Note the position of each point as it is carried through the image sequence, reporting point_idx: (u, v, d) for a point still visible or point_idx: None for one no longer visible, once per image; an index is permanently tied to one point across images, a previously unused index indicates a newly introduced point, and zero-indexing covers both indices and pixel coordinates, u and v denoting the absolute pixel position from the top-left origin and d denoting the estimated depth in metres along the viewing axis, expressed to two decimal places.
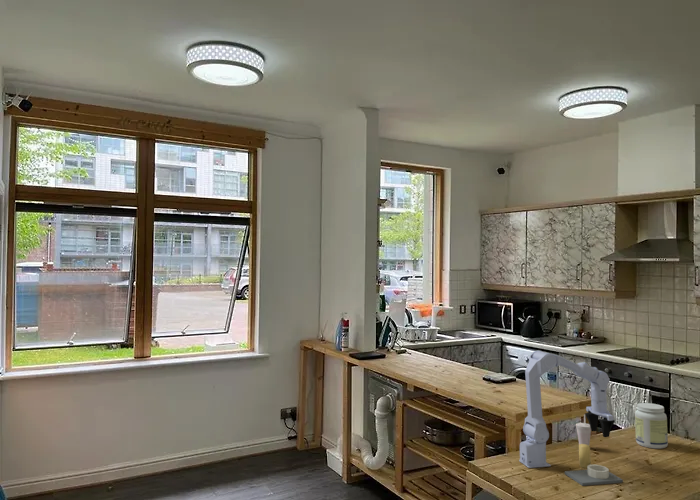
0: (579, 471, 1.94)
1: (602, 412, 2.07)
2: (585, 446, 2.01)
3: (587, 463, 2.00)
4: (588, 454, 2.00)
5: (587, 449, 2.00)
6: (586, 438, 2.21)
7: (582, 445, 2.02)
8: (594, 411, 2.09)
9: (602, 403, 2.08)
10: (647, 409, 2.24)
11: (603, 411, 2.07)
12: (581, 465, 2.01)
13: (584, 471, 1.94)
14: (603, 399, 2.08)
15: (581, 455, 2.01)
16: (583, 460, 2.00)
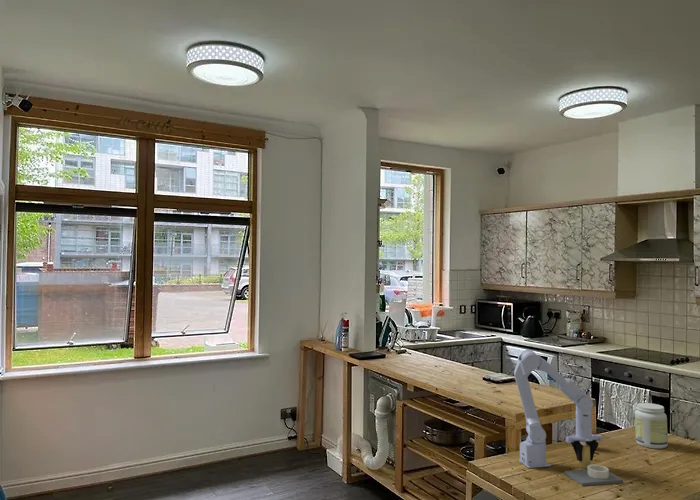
0: (579, 471, 1.94)
1: (576, 435, 2.02)
2: (585, 446, 2.01)
3: (587, 463, 2.00)
4: (588, 454, 2.00)
5: (587, 449, 2.00)
6: None
7: None
8: None
9: (576, 426, 2.02)
10: (647, 409, 2.24)
11: (577, 435, 2.02)
12: (581, 465, 2.01)
13: (584, 471, 1.94)
14: (585, 424, 2.00)
15: None
16: (583, 460, 2.00)
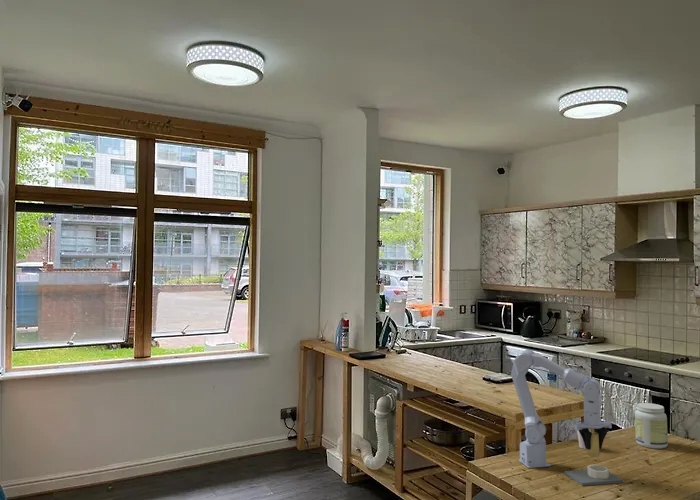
0: (579, 471, 1.94)
1: (584, 423, 1.95)
2: (593, 433, 1.94)
3: (596, 451, 1.93)
4: (597, 442, 1.93)
5: (596, 436, 1.93)
6: None
7: None
8: None
9: (584, 413, 1.95)
10: (647, 409, 2.24)
11: (585, 422, 1.95)
12: (589, 453, 1.94)
13: (584, 471, 1.94)
14: (591, 411, 1.93)
15: None
16: (591, 448, 1.93)
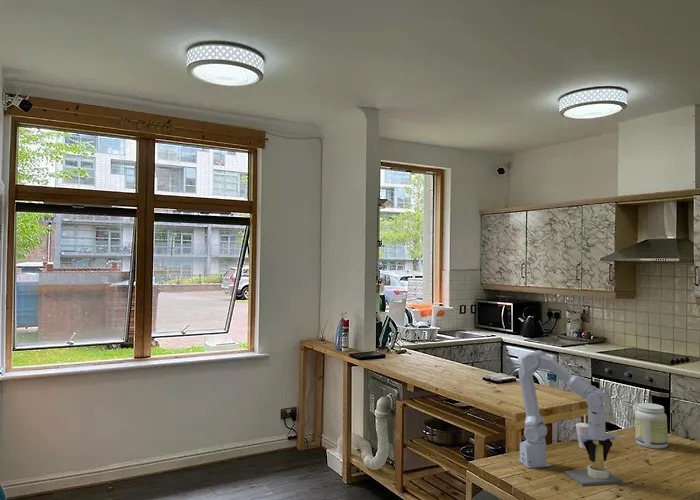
0: (579, 471, 1.94)
1: (589, 434, 1.91)
2: (598, 445, 1.91)
3: (600, 463, 1.89)
4: (601, 454, 1.89)
5: (600, 448, 1.89)
6: None
7: None
8: None
9: (589, 425, 1.91)
10: (647, 409, 2.24)
11: (589, 434, 1.91)
12: (594, 466, 1.90)
13: (584, 471, 1.94)
14: (594, 422, 1.89)
15: None
16: (595, 461, 1.89)
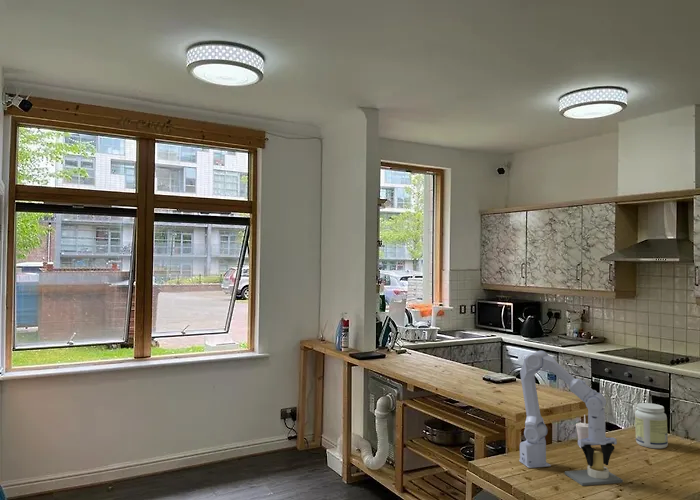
0: (579, 471, 1.94)
1: (589, 439, 1.91)
2: (597, 452, 1.91)
3: None
4: (601, 461, 1.89)
5: (600, 456, 1.89)
6: None
7: (594, 452, 1.92)
8: None
9: (589, 429, 1.91)
10: (647, 409, 2.24)
11: (589, 438, 1.91)
12: None
13: (584, 471, 1.94)
14: (594, 426, 1.89)
15: (593, 463, 1.90)
16: (595, 468, 1.89)
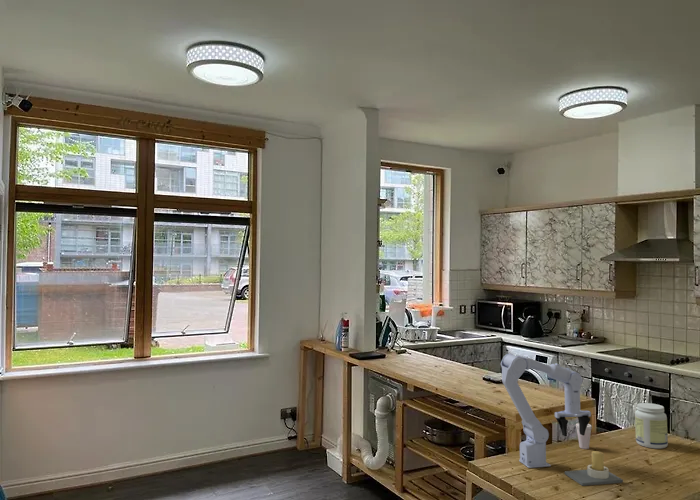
0: (579, 471, 1.94)
1: (565, 411, 2.08)
2: (598, 453, 1.90)
3: None
4: (601, 462, 1.89)
5: (600, 456, 1.89)
6: (586, 438, 2.21)
7: (595, 452, 1.91)
8: None
9: (565, 402, 2.08)
10: (647, 409, 2.24)
11: (566, 410, 2.08)
12: None
13: (584, 471, 1.94)
14: (576, 400, 2.05)
15: (593, 463, 1.90)
16: (595, 469, 1.89)
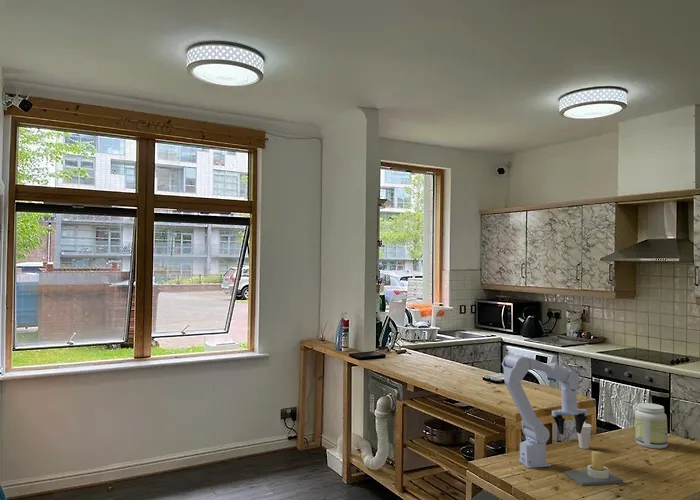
0: (579, 471, 1.94)
1: (562, 409, 2.10)
2: (598, 453, 1.90)
3: None
4: (601, 462, 1.89)
5: (600, 456, 1.89)
6: (586, 438, 2.21)
7: (595, 452, 1.91)
8: None
9: (562, 401, 2.10)
10: (647, 409, 2.24)
11: (562, 409, 2.10)
12: None
13: (584, 471, 1.94)
14: (573, 398, 2.08)
15: (593, 463, 1.90)
16: (596, 469, 1.89)
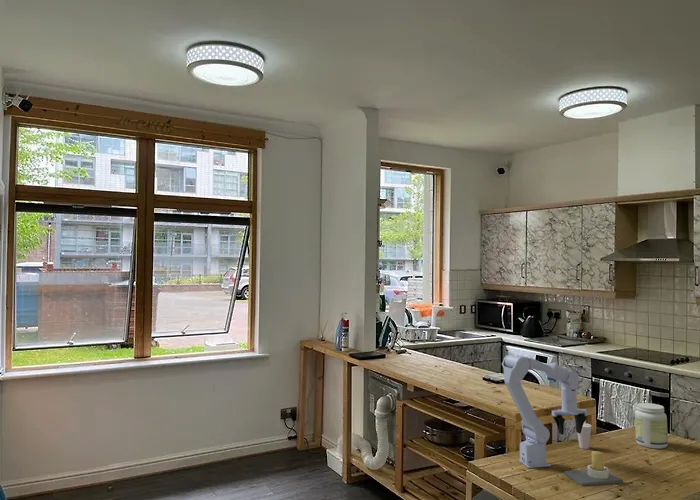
0: (579, 471, 1.94)
1: (562, 409, 2.10)
2: (598, 453, 1.90)
3: None
4: (601, 462, 1.89)
5: (600, 456, 1.89)
6: (586, 438, 2.21)
7: (595, 452, 1.91)
8: None
9: (562, 401, 2.10)
10: (647, 409, 2.24)
11: (562, 409, 2.10)
12: None
13: (584, 471, 1.94)
14: (573, 398, 2.08)
15: (593, 463, 1.90)
16: (595, 469, 1.89)
